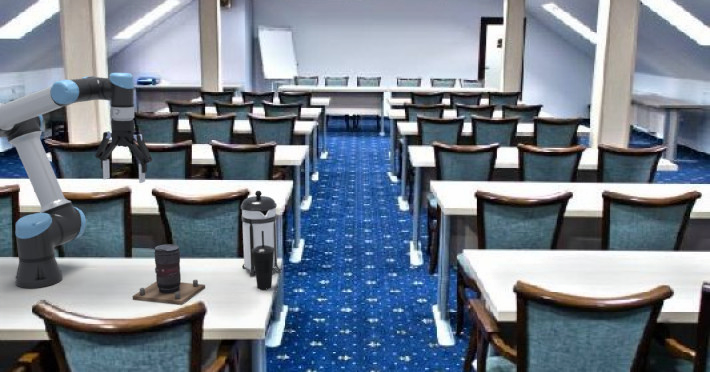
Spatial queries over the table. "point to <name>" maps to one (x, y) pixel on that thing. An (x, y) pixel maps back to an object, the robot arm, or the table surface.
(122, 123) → the robot arm
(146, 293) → the board
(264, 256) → the drinking cup
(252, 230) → the coffee press
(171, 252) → the camera lens
